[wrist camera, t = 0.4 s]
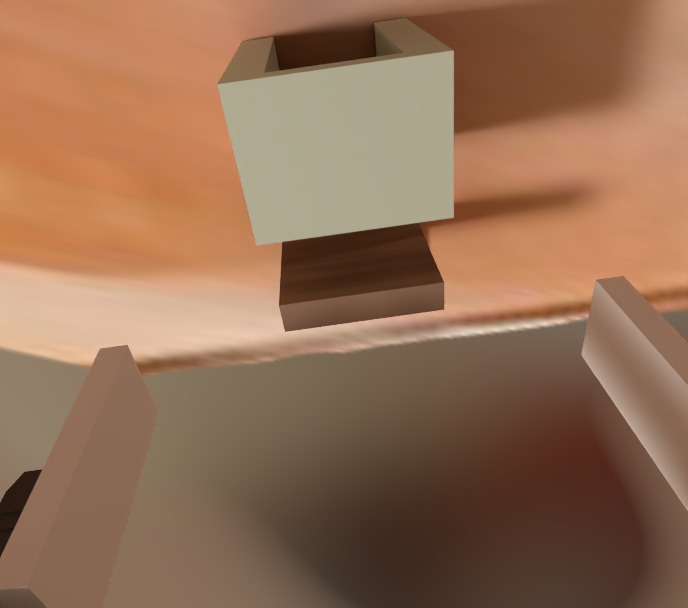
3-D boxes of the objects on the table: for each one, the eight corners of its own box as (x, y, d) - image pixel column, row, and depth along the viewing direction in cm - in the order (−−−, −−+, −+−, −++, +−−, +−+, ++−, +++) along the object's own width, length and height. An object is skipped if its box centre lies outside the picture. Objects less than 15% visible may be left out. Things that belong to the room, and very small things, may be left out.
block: (242, 41, 33) (217, 84, 23) (405, 17, 33) (454, 50, 23) (267, 163, 38) (256, 245, 27) (411, 143, 38) (453, 217, 27)
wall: (283, 225, 41) (279, 305, 32) (411, 207, 41) (443, 282, 31) (292, 269, 43) (290, 355, 34) (413, 252, 43) (444, 334, 34)
